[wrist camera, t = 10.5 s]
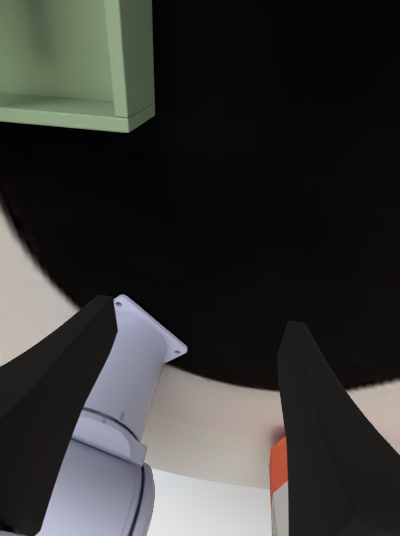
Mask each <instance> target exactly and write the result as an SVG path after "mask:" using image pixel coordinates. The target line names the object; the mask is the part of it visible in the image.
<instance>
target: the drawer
mask: <svg viewBox="0 0 400 536" xmlns="http://www.w3.org/2000/svg"><path fill="white" fill-rule="evenodd" d="M153 116H155V96H154V62H153V27H152V0H0V121H2V122H13V123H24V124H35V125H46V126H57V127H68V128H79V129H90V130H101V131H112V132H123V133H129V132H131V131H132V130H134V129H135V128H137V127H138V126H140V125H141V124H143V123H144V122H146V121H147V120H149V119H150V118H151V117H153Z"/></svg>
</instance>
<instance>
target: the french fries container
mask: <svg viewBox="0 0 400 536" xmlns="http://www.w3.org/2000/svg"><path fill="white" fill-rule="evenodd" d="M269 470H270V496H271V521H272V536H289V522H288V470H287V445H286V436H285V437H284V438H282V439H281V440H280V441H279V442H278V443H277V444H275V445H274V446H273V447H272V448H271V454H270V465H269Z"/></svg>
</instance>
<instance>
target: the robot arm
mask: <svg viewBox="0 0 400 536" xmlns="http://www.w3.org/2000/svg"><path fill="white" fill-rule="evenodd" d="M118 302H119V303H118ZM120 303H121V304H120ZM186 352H187V346H186V345H185V344H184V343H182V342H181V341H180V340H179V339H178V338H177V337H175V336H174V335H173V334H172V333H171V332H169V331H168V330H167V329H166V328H165V327H163V326H162V325H161V324H160V323H159V322H158V321H156V320H155V319H154V318H153V317H152V316H150V315H149V314H148V313H147V312H146V311H144V310H143V309H142V308H141V307H140V306H138V305H137V304H136V303H135V302H134V301H133V300H131V299H130V298H129V297H128V296H126V295H119V296H118V297H116V298H115V299H113V297H112V296H105V295H98V296H97V297H95V298H94V299H93V300H92V301H91V302H89V303H88V304H87V305H86V306H85V307H83V308H82V309H81V310H80V311H79V312H77V313H76V314H75V315H74V316H73V317H71V318H70V319H69V320H68V321H66V322H65V323H64V324H63V325H61V326H60V327H59V328H58V329H56V330H55V331H54V332H52V333H51V334H50V335H48V336H47V337H45V338H44V339H43V340H41V341H40V342H39V343H37V344H36V345H34V346H33V347H31V348H30V349H29V350H27V351H26V352H24V353H22V354H21V355H19V356H18V357H16V358H14V359H13V360H11V361H10V362H8V363H6V364H4V365H3V366H1V367H0V536H146V535H147V532H148V529H149V525H150V521H151V517H152V512H153V507H154V499H155V484H154V480H153V474H152V470H151V468H150V466H149V465H148V464H146V463H144V459H145V455H146V451H147V446H145V445H143V444H141V443H140V442H141V439H142V435H143V432H144V428H145V425H146V421H147V418H148V414H149V411H150V407H151V404H152V400H153V397H154V393H155V390H156V386H157V383H158V379H159V376H160V372H161V368H162V365H163V364H164V363H166V362H169V361H171V360H173V359H175V358H177V357H179V356H181V355H183V354H185V353H186ZM278 381H279V389H280V397H281V404H282V412H283V419H284V427H285V434H286V445H287V470H288V522H289V536H400V455H399V454H398V453H397V452H396V451H395V450H394V449H393V448H392V446H391V445H390V444H389V443H388V442H387V441H386V440H385V439H384V438H383V437H382V436H381V435H380V433H379V432H378V431H377V430H376V429H375V428H374V426H373V425H372V424H371V423H370V422H369V420H368V419H367V418H366V417H365V416H364V414H363V413H362V412H361V411H360V409H359V408H358V407H357V405H356V404H355V403H354V402H353V400H352V399H351V397H350V396H349V395H348V393H347V392H346V390H345V389H344V388H343V386H342V385H341V383H340V382H339V380H338V379H337V377H336V376H335V374H334V373H333V371H332V370H331V368H330V366H329V365H328V363H327V362H326V360H325V358H324V357H323V355H322V353H321V352H320V350H319V348H318V346H317V345H316V343H315V341H314V339H313V337H312V336H311V334H310V332H309V330H308V328H307V326H306V324H305V323H303V322H296V321H288V323H287V327H286V330H285V333H284V336H283V339H282V342H281V346H280V349H279V352H278Z"/></svg>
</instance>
